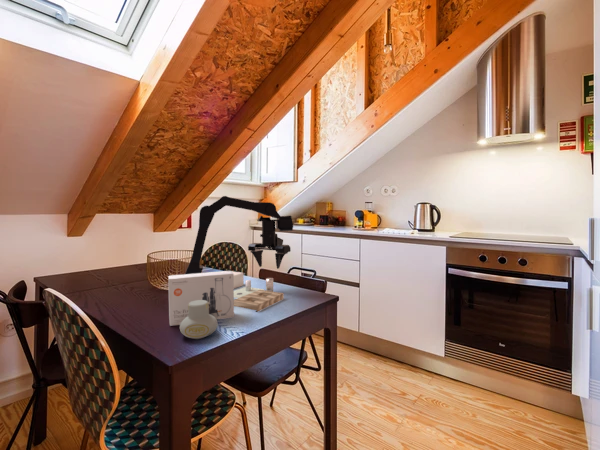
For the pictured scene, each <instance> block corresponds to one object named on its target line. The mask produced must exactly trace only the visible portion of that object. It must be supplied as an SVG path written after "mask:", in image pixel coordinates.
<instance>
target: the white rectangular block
mask: <svg viewBox="0 0 600 450" xmlns="http://www.w3.org/2000/svg"><path fill="white" fill-rule="evenodd" d="M232 272H233V274H234V289H236V288H239V287H242V286H244V272H239V271H232Z"/></svg>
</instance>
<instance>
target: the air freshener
mask: <svg viewBox="0 0 600 450" xmlns="http://www.w3.org/2000/svg"><path fill="white" fill-rule="evenodd" d="M218 326H219V325H218V319H216V318H215V317H214V316H212V315H210V314H209V304H208V301H206V300H196V301H192V302H190V303H189V304H188V317H186V318H185V319H184V320H183V321H182V322H181V324H180V325H179V330H180V333H181V334H182V335H183V336H185V337H186V338H189V339H193V340H200V339H203V338H206V337H208V336H210V335H212V334H213V333H214V332H215V331H216V330H217V328H218Z"/></svg>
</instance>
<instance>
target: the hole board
mask: <svg viewBox="0 0 600 450" xmlns="http://www.w3.org/2000/svg"><path fill="white" fill-rule="evenodd" d="M284 296H285V293H283V292H279V291H278V292H277V291H273V292H272V291H266V289H265V290H258V291H255V292H253V293H250V294H248V295H245V296H243V297H240V298H235V299H234V307H237V308H243V309H247V310H252V311H255V313H259V312H260V311H263V310H265V309H267V308H268V307H270V306H273V305H274V304H277V303H279V302H281V301H283V300H284Z"/></svg>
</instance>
